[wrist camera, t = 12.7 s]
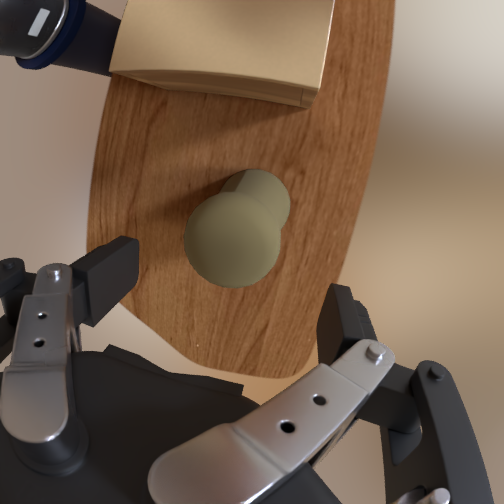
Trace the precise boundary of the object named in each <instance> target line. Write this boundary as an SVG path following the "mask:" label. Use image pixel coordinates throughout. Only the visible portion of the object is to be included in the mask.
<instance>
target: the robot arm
mask: <svg viewBox="0 0 504 504" xmlns="http://www.w3.org/2000/svg"><path fill="white" fill-rule="evenodd" d="M69 8H70V1H69V0H0V55H6V56H15V57H19V58H23V59H33V58H36V57H38V56H40V55H41V54H42V53H44V52H45V51H46V50H47V49H48V48H49V47H50V46H51V45H52V43H53V42H54V41H55V40H56V38H57V37H58V35H59V34H60V32H61V30H62V28H63V26H64V24H65V22H66V19H67V17H68V13H69ZM138 275H139V241H138V240H137V239H134V238H130V237H126V236H119V237H118V238H116V239H114V240H113V241H111V242H110V243H108V244H106V245H102V246H99V247H97V248H96V249H94V250H92V251H91V252H89V253H88V254H86V255H85V256H83V257H81V258H80V259H78V260H77V261H75V262H74V263H72V264H70V265H69V266H68V265H66V264H62V263H54V264H49V265H46V266H43V267H42V268H40V269H39V271H38V272H37V274H36V273H28V272H26V271H25V265H24V261H23V260H22V259H19V258H8V259H4V260H1V261H0V298H1V301H2V305H3V308H4V312H5V314H4V315H3V316H2V317H1V318H0V363H1V362H2V361H3V360H4V359H5V358H6V357H7V356H8V355H9V354H10V353H11V352H12V356H11V362H10V365H9V366H7V367H5V369H4V372H0V504H342V503H341V502H340V501H339V500H338V498H337V497H336V496H335V495H334V494H333V493H332V492H331V490H330V489H329V488H328V487H327V485H326V484H325V483H324V482H323V480H322V479H321V478H320V477H319V476H318V474H317V473H316V472H315V471H314V469H315V468H316V467H317V465H318V464H319V463H320V462H321V461H322V460H323V459H324V458H325V457H326V456H327V454H328V453H329V452H330V451H331V450H332V449H333V448H334V446H336V445H337V443H338V442H339V441H340V440H341V439H342V438H343V437H344V436H345V435H346V434H347V432H348V431H349V430H350V429H351V428H352V427H353V426H354V424H355V423H356V422H357V421H358V420H359V419H362V420H365V421H368V422H371V423H373V424H377V425H379V426H380V433H381V442H382V452H383V463H384V476H385V491H386V504H494V501H493V497H492V492H491V488H490V484H489V480H488V477H487V473H486V469H485V466H484V462H483V459H482V456H481V452H480V449H479V446H478V443H477V440H476V437H475V434H474V431H473V429H472V426H471V423H470V420H469V417H468V415H467V412H466V409H465V407H464V404H463V402H462V400H461V397H460V394H459V392H458V390H457V387H456V385H455V383H454V380H453V378H452V376H451V374H450V372H449V371H448V370H447V369H446V368H445V367H444V366H442V365H441V364H439V363H437V362H434V361H429V360H425V361H422V362H420V363H419V365H418V366H417V368H416V369H415V370H412V369H409V368H406V367H403V366H400V365H398V364H396V363H394V362H395V356H394V354H393V352H392V351H391V350H390V349H389V348H388V347H387V346H386V345H384V344H382V343H381V342H378V340H377V337H376V334H375V332H374V329H373V326H372V324H371V320H370V318H369V315H368V312H367V309H366V308H365V307H364V306H363V305H362V304H361V303H360V301H357V300H354V299H353V296H352V293H351V290H350V287H348V286H343V285H338V284H334V283H331V284H330V286H329V288H328V291H327V294H326V297H325V300H324V303H323V306H322V309H321V312H320V315H319V318H318V322H317V330H316V332H317V346H318V359H319V360H318V361H319V364H318V365H317V366H316V367H314V368H313V369H312V370H311V371H309V372H308V373H306V374H305V375H304V376H303V377H301V378H300V379H298V380H297V381H296V382H294V383H293V384H291V385H290V386H289V387H287V388H286V389H285V390H283V391H282V392H280V393H279V394H277V395H276V396H274V397H273V398H271V399H270V400H269V401H267V402H266V403H264V404H262V405H261V406H260V405H259V404H257V403H256V402H254V401H252V400H250V399H249V398H247V397H245V396H242V391H243V387H244V385H242V384H238V383H233V382H229V381H225V380H221V379H217V378H213V377H209V376H200V375H188V374H179V373H171V372H168V371H165V370H164V369H162V368H160V367H158V366H157V365H155V364H153V363H151V362H150V361H148V360H146V359H145V358H143V357H141V356H140V355H138V354H135V353H132V352H129V351H126V350H124V349H121V348H118V347H116V346H113V345H110V344H109V345H108V346H107V348H106V349H105V350H104V351H103V352H97V351H82V346H81V332H80V326H79V325H80V324H81V323H84V324H86V325H88V326H91V327H94V326H95V325H96V324H97V323H98V322H99V321H100V320H101V319H102V318H103V317H104V316H105V315H106V314H107V313H108V312H109V311H110V310H111V309H112V308H113V307H114V306H115V305H116V304H117V303H118V302H119V301H120V300H121V299H122V298H123V297H124V296H125V295H126V294H127V293H128V292H129V291H130V290H131V289H132V288H133V287H134V286H135V285H136V283H137V280H138ZM420 426H422V433H421V429H420Z"/></svg>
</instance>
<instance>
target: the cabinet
mask: <svg viewBox="0 0 504 504" xmlns="http://www.w3.org/2000/svg"><path fill="white" fill-rule="evenodd" d="M334 3H335V0H128V1H127V4H126V8H125V10H124V14H123V17H122V20H121V23H120V27H119V30H118V34H117V38H116V42H115V46H114V50H113V54H112V58H111V63H110V67H109V72H112V73H116V74H119V75H122V76H125V77H129V78H132V79H135V80H138V81H141V82H145V83H148V84H151V85H154V86H157V87H159V88H162V89H165V90H175V91H190V92H203V93H213V94H222V95H231V96H238V97H246V98H252V99H259V100H265V101H271V102H277V103H282V104H287V105H292V106H297V107H302V108H306V109H310V107H311V105H312V103H313V101H314V99H315V97H316V95H317V93H318V91H319V89H320V85H321V80H322V74H323V69H324V63H325V57H326V52H327V46H328V40H329V34H330V28H331V22H332V16H333V9H334Z"/></svg>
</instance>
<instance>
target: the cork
mask: <svg viewBox="0 0 504 504" xmlns="http://www.w3.org/2000/svg"><path fill="white" fill-rule="evenodd" d="M289 213H290V198H289V195H288V192H287V189H286V188H285V186H284V185H283V183H282V182H281V181H280V180H279V179H278V178H277V177H275V176H274V175H273V174H271V173H269V172H266V171H263V170H260V169H247V170H244V171H241V172H238V173H236V174H235V175H233V176H232V177H231V178H229V179H228V180H227V181H226V183H225V184H224V186H223V187H222V189H221V190H220V192H219V194H217V195H214V196H211V197H209V198H208V199H206V200H205V201H204V202H202V203H201V204H200V205H198V206H197V207H196V208H195V210H194V211H193V213H192V214H191V216H190V217H189V219H188V221H187V225H186V229H185V233H184V247H185V252H186V255H187V257H188V260H189V262H190V264H191V265H192V266H193V268H194V269H195V270H196V271H197V273H198V274H199V275H200V276H202V277H203V278H205V279H206V280H207V281H209V282H210V283H213V284H216V285H218V286H221V287H226V288H241V287H245V286H249V285H252V284H254V283H255V282H257V281H259V280H260V279H262V278H263V277H264V276H265V275H266V274H267V273H268V272H269V271H270V270H271V268H272V267H273V266H274V265H275V263H276V260H277V257H278V255H279V252H280V234H281V233H280V230H281V229H282V227H283V226H284V224H285V223H286V221H287V218H288V215H289Z"/></svg>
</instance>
